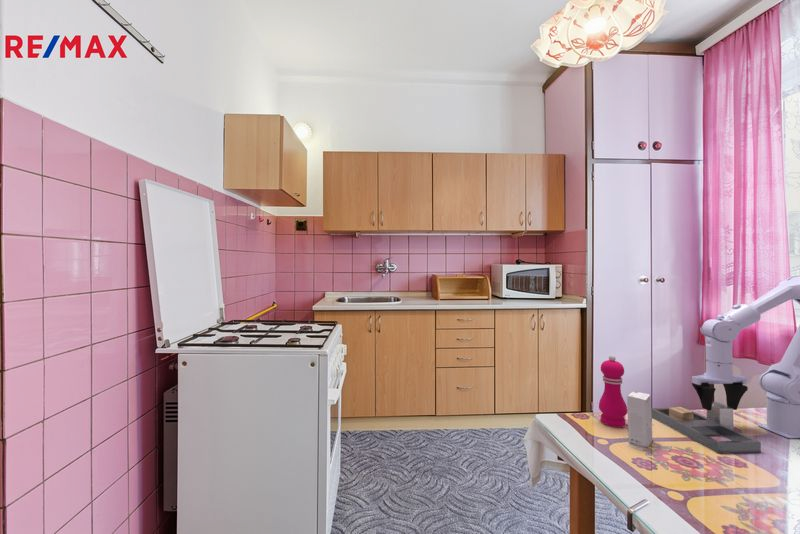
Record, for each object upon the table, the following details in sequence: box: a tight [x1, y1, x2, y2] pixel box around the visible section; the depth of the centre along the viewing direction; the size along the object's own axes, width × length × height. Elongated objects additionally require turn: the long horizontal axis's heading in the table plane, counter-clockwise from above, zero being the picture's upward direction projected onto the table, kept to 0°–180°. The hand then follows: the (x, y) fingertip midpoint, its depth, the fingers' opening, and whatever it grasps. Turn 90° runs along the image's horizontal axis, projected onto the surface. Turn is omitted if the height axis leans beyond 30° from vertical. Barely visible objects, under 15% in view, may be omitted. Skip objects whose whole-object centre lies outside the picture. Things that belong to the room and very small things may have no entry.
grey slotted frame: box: [651, 407, 762, 454], centre depth 97 cm, size 11×22×2 cm, turn 2°
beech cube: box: [668, 406, 694, 421], centre depth 103 cm, size 4×4×4 cm
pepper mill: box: [598, 354, 628, 428], centre depth 103 cm, size 7×7×20 cm
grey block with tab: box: [706, 400, 735, 430], centre depth 100 cm, size 4×4×7 cm
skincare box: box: [626, 391, 653, 448], centre depth 92 cm, size 6×4×12 cm
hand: (719, 408), depth 100 cm, fingers open, 7 cm apart
